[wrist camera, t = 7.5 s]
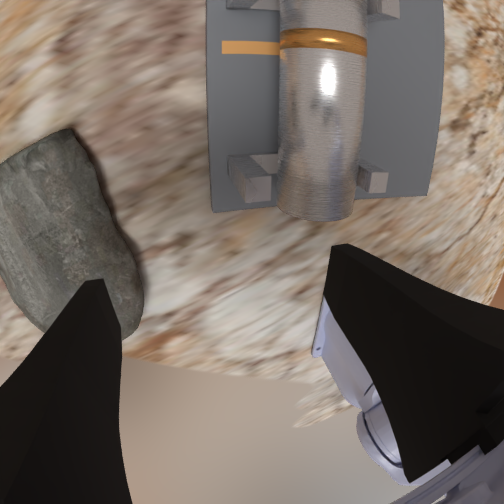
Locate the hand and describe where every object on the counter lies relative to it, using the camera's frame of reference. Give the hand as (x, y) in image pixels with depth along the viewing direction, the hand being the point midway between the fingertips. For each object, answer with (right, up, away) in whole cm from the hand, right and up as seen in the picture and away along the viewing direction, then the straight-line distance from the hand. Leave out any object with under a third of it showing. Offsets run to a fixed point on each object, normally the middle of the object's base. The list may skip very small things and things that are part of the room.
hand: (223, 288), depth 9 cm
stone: (-12, +1, +9) cm, 15 cm away
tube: (+4, +11, +6) cm, 13 cm away
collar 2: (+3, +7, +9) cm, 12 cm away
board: (+7, +13, +7) cm, 16 cm away
